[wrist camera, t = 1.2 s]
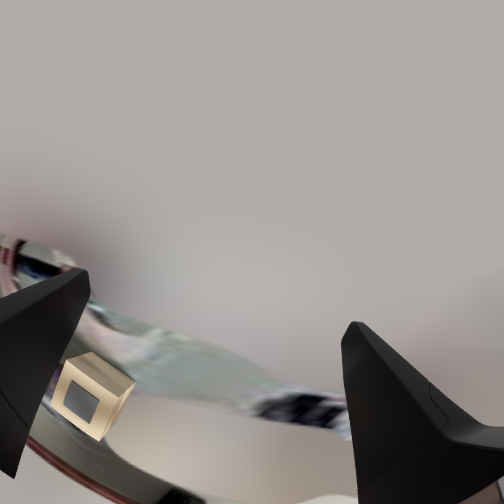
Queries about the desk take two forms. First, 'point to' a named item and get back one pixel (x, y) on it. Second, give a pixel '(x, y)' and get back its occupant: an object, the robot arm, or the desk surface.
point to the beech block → (91, 394)
